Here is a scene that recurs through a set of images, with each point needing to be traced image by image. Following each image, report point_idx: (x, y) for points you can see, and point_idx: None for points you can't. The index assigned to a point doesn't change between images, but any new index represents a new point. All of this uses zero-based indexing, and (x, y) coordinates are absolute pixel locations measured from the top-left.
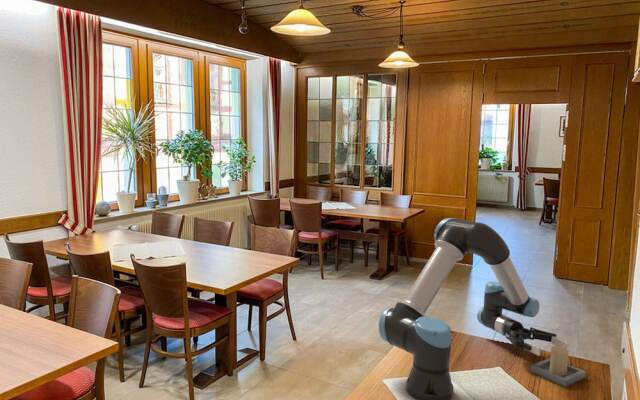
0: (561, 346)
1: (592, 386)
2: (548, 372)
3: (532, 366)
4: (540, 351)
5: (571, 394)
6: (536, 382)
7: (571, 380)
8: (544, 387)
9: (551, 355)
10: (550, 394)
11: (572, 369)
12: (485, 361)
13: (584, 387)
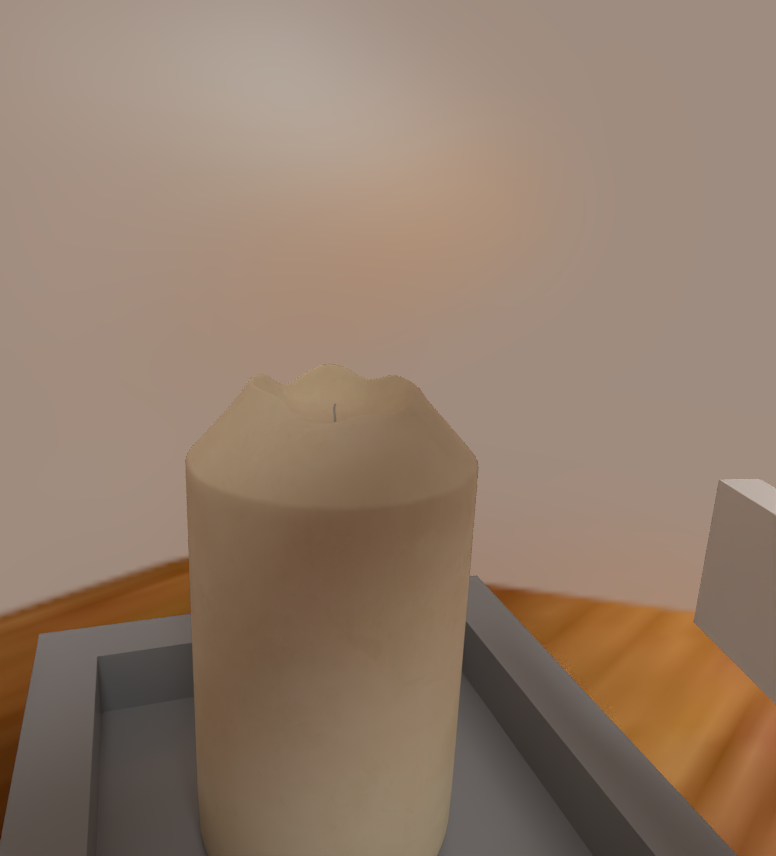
0: (271, 411)
1: (176, 614)
2: (573, 699)
3: None
4: (708, 544)
5: (489, 584)
6: (758, 762)
7: None
8: (694, 681)
9: (464, 584)
10: (682, 610)
11: (96, 735)
12: None
13: None
